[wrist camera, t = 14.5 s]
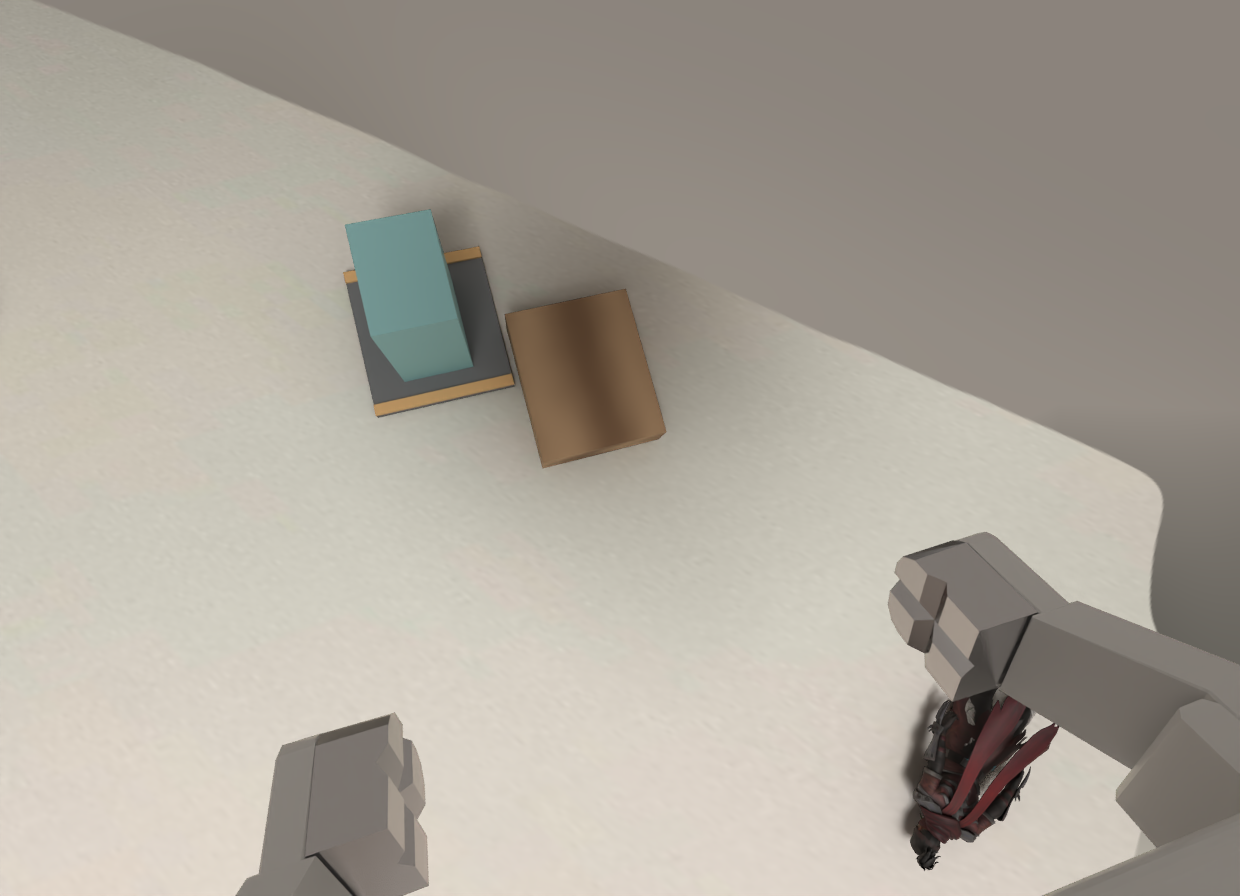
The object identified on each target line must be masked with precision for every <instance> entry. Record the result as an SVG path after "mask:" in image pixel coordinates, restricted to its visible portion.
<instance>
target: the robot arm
mask: <svg viewBox="0 0 1240 896" xmlns="http://www.w3.org/2000/svg"><path fill="white" fill-rule="evenodd" d="M894 573H895V574H896V575H897V576H898V578H899V579H900V580H899V581H898V582H897V583H896V585H895V586H894V587H893V588H892V589H891V590H890V594H889V600H888V608H889V612H890V616H891V620H892V622H893V624H894V626H895V628H896V630H897V632H898V633H899V634H900V636H901V637H902V638H903V640H904V641H905V642H906V644H907V645H909V646H911V647H913V648H915V649H917V650H919V651H921V652H923V653H924V655H925V668H926V669H927V671H928V672H929V673H930V674H931V676H932V677H933V678H934V680H935V681H936V682H937V683H938V685H939V686H940V687H941V688H942V690H943V691H944V692H945V694H946V695H947V696H948V697H949V699H950V700H951V701H952V702H954V701H957V700H960V699H963V698H966V697H969V696H973V695H976V694H979V693H982V692H985V691H988V690H991V689H995V688H998V687H1000V689H999V690H1000V691H1002V692H1003V693H1005V694H1007V695H1008V696H1010V697H1012V698H1013V699H1015V700H1017V701H1018V702H1020V703H1022V704H1023V705H1025V706H1027V707H1028V708H1030V709H1032V710H1033V711H1035V712H1037V713H1038V714H1040V715H1042V716H1043V717H1045V718H1047V719H1048V720H1050V721H1052V722H1053V723H1055V724H1057V725H1058V726H1060V727H1062V728H1063V729H1065V730H1067V731H1068V732H1070V733H1072V734H1073V735H1075V736H1077V737H1078V738H1080V739H1082V740H1083V741H1085V742H1087V743H1088V744H1090V745H1092V746H1093V747H1095V748H1097V749H1098V750H1100V751H1102V752H1103V753H1105V754H1107V755H1108V756H1110V757H1112V758H1113V759H1115V760H1117V761H1118V762H1120V763H1122V764H1123V765H1125V766H1127V767H1128V768H1130V769H1132V770H1131V771H1130V772H1129V774H1128V775H1127V776H1126V778H1125V779H1124V780H1123V782H1122V783H1121V784H1120V785H1119V787H1118V788H1117V789H1116V802H1117V803H1118V804H1119V805H1120V806H1121V807H1122V808H1123V810H1124V811H1125V812H1126V813H1127V814H1128V815H1129V816H1130V818H1131V819H1132V820H1133V821H1134V822H1135V823H1136V825H1137V826H1138V827H1139V828H1140V829H1141V830H1142V831H1143V833H1144V834H1145V835H1146V836H1147V837H1148V838H1149V839H1150V841H1151V842H1152V843H1153V844H1154V845H1155V846H1156V848H1155V849H1153V850H1150V851H1148V852H1146V853H1143V854H1141V855H1138V856H1136V857H1134V858H1131V859H1129V860H1126V861H1124V862H1122V863H1119V864H1117V865H1114V866H1112V867H1110V868H1107V869H1105V870H1103V871H1100V872H1098V873H1095V874H1093V875H1091V876H1088V877H1086V878H1083V879H1081V880H1079V881H1076V882H1074V883H1071V884H1069V885H1067V886H1064V887H1062V888H1059V889H1057V890H1055V891H1052V892H1050V893H1048V894H1045V895H1043V896H1240V665H1238V664H1236V663H1233V662H1231V661H1228V660H1226V659H1223V658H1221V657H1218V656H1216V655H1213V654H1211V653H1208V652H1205V651H1203V650H1200V649H1198V648H1195V647H1193V646H1190V645H1187V644H1185V643H1183V642H1180V641H1178V640H1175V639H1172V638H1170V637H1167V636H1165V635H1162V634H1160V633H1157V632H1155V631H1152V630H1150V629H1147V628H1145V627H1142V626H1140V625H1137V624H1134V623H1132V622H1129V621H1127V620H1124V619H1122V618H1119V617H1117V616H1114V615H1112V614H1109V613H1107V612H1104V611H1101V610H1099V609H1096V608H1094V607H1091V606H1089V605H1086V604H1084V603H1081V602H1079V601H1076V602H1072V603H1068V602H1067V601H1066V600H1065V599H1064V598H1063V597H1062V596H1061V595H1059V594H1058V593H1057V592H1056V591H1055V590H1054V589H1053V588H1052V587H1051V586H1050V585H1048V584H1047V583H1046V582H1045V581H1044V580H1043V579H1042V578H1041V577H1040V576H1039V575H1038V574H1036V573H1035V572H1034V571H1033V570H1032V569H1031V568H1030V567H1029V566H1028V565H1027V564H1025V563H1024V562H1023V561H1022V560H1021V559H1020V558H1019V557H1018V556H1017V555H1016V554H1014V553H1013V552H1012V551H1011V550H1010V549H1009V548H1008V547H1007V546H1006V545H1005V544H1003V543H1002V542H1001V541H1000V540H999V539H998V538H997V537H995V536H994V535H992V534H990V533H987V532H982V533H977V534H974V535H971V536H968V537H965V538H962V539H959V540H956V541H954V540H952V541H949V542H946V543H943V544H940V545H937V546H934V547H931V548H928V549H925V550H922V551H919V552H915V553H912V554H909V555H906V556H903V557H902V558H901V559H900V560H899V561H898V562H897V564H896V568H895V572H894ZM425 804H426V802H425V785H424V778H423V772H422V767H421V762H420V759H419V756H418V753H417V750H416V748H415V746H414V744H413V742H412V741H411V740H408V739H405V738H403V724H402V723H401V721H400V720H399V718H398V717H397V715H396V713H391V714H388V715H384V716H381V717H378V718H374V719H371V720H367V721H364V722H360V723H357V724H354V725H350V726H347V727H343V728H340V729H336V730H333V731H330V732H326V733H321V734H318V735H315V736H311V737H308V738H305V739H302V740H298V741H295V742H292V743H288V744H285V745H282V747H281V749H280V752H279V754H278V756H277V758H276V762H275V768H274V775H273V782H272V788H271V795H270V802H269V808H268V815H267V822H266V829H265V835H264V842H263V849H262V855H261V862H260V869H259V874H257V875H254V876H252V877H249V878H247V879H246V880H245V882H244V883H243V885H242V886H241V888H240V890H239V891H238V893H237V894H236V896H403V895H406V894H408V893H411V892H414V891H416V890H419V889H422V888H424V887H427V886H429V876H428V849H427V835H426V833H425V832H424V830H423V829H422V827H421V825H420V824H419V822H418V820H417V819H418V817H419V815H420V814H421V812H422V810H423V808H424V806H425Z"/></svg>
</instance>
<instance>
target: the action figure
mask: <svg viewBox="0 0 1240 896" xmlns="http://www.w3.org/2000/svg"><path fill="white" fill-rule="evenodd" d="M997 689H998V688H995V689H991V690H988V691H985V692H982V693H979V694H976V695H973V696H969V697H966V698H963V699H960V700H957V701H954V702H953V712H952V708H951V711H950V712H947V713H946V714H945V712H946V710H947V707H948V705H949V704H950V702H951V701H949V700H948V701H949V702H948V701H946V702H944V703H943V705H942V706H941V708H940V709H939V710H938V712H937V715H936V719H937V720H936V722H935V721H934V722H933V725H930V726H929V727H928V728H931V729H930V730H929V731H931V730H932V733H933V734H934V736H933V739H932V741H931V743H930V745H929V747H928V749H927V750H926V752H925V755H924V760H928V767H927V766H924V771H923V776H922V778H921V780H920V782H919V784H918V788H916V789H915V791H914V793H913V798H914V799H915V800H916V802H917V803H918V804H919V805H920V808H921V811H922V813H923V814H924V818H922V816H921V814H920V816H921V818H922V819H921V820H920V821H919V822H918V824H919V825H917V826H916V827H915V828H914V833H913V835H912V837H911V839H910V843H911V846H912V848H913V850H914V852H915V853H916V854H917V855H919V856H918V857H917V862H918V863H919V866H921V867H922V868H923V869H924V871H925V868H926V869H928V870H932V869H933V867H934V865H935V864H936V863H939V862H935V860H936V859H937V858H938V857H941V856H937V857H935V855H936V853H937V852H938V850H939V849H940V842H942V843H943V844H945V843H947V841H948V840H949V839H951V840H953V839H955V840H957V839H959V838H961V839H963V840H964V841H966V842H974V840H975V839H976V837H978V836H979V834H980V833H981V832H982V831H984V830H985V829H987V828H988V827H990V826H991V825H993V824H995V821H994V819H997V820H999V821H1004V819H1005V817H1006V815H1007V813H1008V810H1009V807H1010V805H1011V802H1012V801H1013V799H1014V798H1015V801H1016V798H1017V797H1018V799H1019V801H1020V796H1019V793H1020V789H1021V788H1023V787H1024V785H1025V784H1026V782H1027V779H1028V777H1029V774H1030V769H1031V766H1030V769H1029V772H1028V773H1027V775H1026V777H1025V779H1024V780H1023V782H1022V783H1021V785H1020V786H1019V784H1020V782H1021V780H1022V778H1023V775H1024V768H1025V767H1026V766H1027V765H1029V764H1030V763H1031V762H1032V761H1034V760H1035V759H1036V758H1037V757H1039V756H1040V755H1041V754H1043V753H1044V752H1045V751H1047V750H1048V749H1049V746H1050V744H1051V743H1050V742H1051V741H1052V739H1053V738H1054V736H1055V735H1056V733H1057V731H1058V728H1059V726H1057V727H1054V725H1055V723H1053V724H1052V725H1050V726H1048V727H1046V728H1044V729H1041V730H1040V731H1038V732H1037V733H1036V734H1034V735H1033V736H1032V737H1031V738H1030V739H1029V740H1028V741H1027V742H1025V743H1023V744H1021V742H1022V741H1024V740H1025V739H1026V738H1027V737H1024V736H1025V734H1026V729H1025V730H1024V728H1025V727H1026V726H1027V725H1028V724H1029V722H1030V721H1031V719H1032V718H1033V716H1034V715H1035V714H1036V713H1037V712H1035V711H1033V710H1032V709H1030V708H1028V707H1027V706H1025V705H1023V704H1022V703H1020V702H1018V701H1017V700H1015V699H1013V698H1012V697H1010V696H1007V698H1006V699H1005V701H1004V704H1003V706H1002V709H1001V707H1000V703H999V700H997V702H996V704H995V705H994V707H993V709H992V702H993V699H992V698H993V695H994V694H995V692H996V690H997ZM947 702H948V703H947ZM946 703H947V704H946ZM991 709H992V711H991ZM928 728H927V729H928ZM1023 730H1024V731H1023ZM1022 731H1023V733H1022ZM1023 737H1024V739H1023V740H1021V739H1022V738H1023ZM1020 740H1021V741H1020ZM1019 741H1020V742H1019ZM1018 742H1019V743H1018ZM1017 743H1018V744H1017ZM1016 744H1017V745H1016ZM1018 749H1019V750H1018ZM1017 750H1018V751H1017ZM1016 751H1017V752H1016ZM1015 752H1016V753H1015ZM1014 753H1015V755H1014V756H1013V757H1012V758H1011V759H1010V761H1009V762H1008V763H1007V764H1006V765H1005V767H1004V768H1003V769H1002V770H1001V771H1000V773H999V774H998V775H997V776H996V778H995V779H994V780H993V782H992V783H991V784H990V786H989V787H988V789H987V790H986V791H985V793H984V794H983V796H982V797H981V799H980V800H979V797H978V796H979V795H980V787H979V784H980V783H981V782H982V781H983V780H984V779H985V778H986V776H987V775H988V774H989V773H990V772H992V771H993V770H994V769H995V768H997V767H998V766H999V765H1000V764H1002V763H1003V762H1005V761H1006V760H1007V759H1009V758H1010V757H1011V756H1012V755H1013V754H1014ZM1005 785H1006V786H1005ZM1018 786H1019V787H1018ZM1004 787H1005V788H1004ZM1003 788H1004V789H1003ZM1017 788H1018V789H1017ZM1002 789H1003V790H1002ZM1001 790H1002V791H1001ZM1000 791H1001V792H1000ZM918 860H919V861H918ZM934 862H935V864H934ZM933 864H934V865H933ZM930 868H932V869H930Z"/></svg>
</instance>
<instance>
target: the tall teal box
mask: <svg viewBox="0 0 1240 896" xmlns="http://www.w3.org/2000/svg"><path fill="white" fill-rule="evenodd" d="M345 228H346V232H347V237H348V241H349V245H350V250H351V254H352V258H353V263H354V267H355V271H356V276H357V280H358V284H359V289H360V293H361V297H362V302H363V306H364V310H365V315H366V319H367V323H368V328H369V332H370V336H371V338H372V339H373V341H374V342H375V343H376V344H377V346H378V347H379V348H380V350H381V351H382V352H383V354H384V355H385V356H386V358H387V359H388V360H389V362H390V363H391V364H392V366H393V367H394V368H395V370H396V371H397V372H398V374H399V375H400V376H401V378H402V379H403V380H404V382H407V381H411V380H416V379H420V378H425V377H429V376H434V375H438V374H443V373H447V372H452V371H456V370H461V369H465V368H470V367H473V363H472V359H471V355H470V351H469V347H468V343H467V339H466V335H465V331H464V327H463V323H462V319H461V315H460V311H459V307H458V303H457V299H456V295H455V291H454V287H453V283H452V279H451V276H450V272H449V269H448V266H447V262H446V259H445V256H444V252H443V249H442V246H441V242H440V239H439V236H438V233H437V229H436V226H435V223H434V219H433V216H432V213H431V209H429V210H424V211H418V212H413V213H407V214H402V215H396V216H391V217H385V218H380V219H374V220H369V221H363V222H357V223H352V224H346V225H345Z"/></svg>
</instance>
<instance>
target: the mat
mask: <svg viewBox="0 0 1240 896" xmlns="http://www.w3.org/2000/svg"><path fill="white" fill-rule="evenodd" d="M444 256H445V259H446V262H447V266H448V269H449V272H450V276H451V279H452V283H453V287H454V291H455V295H456V299H457V303H458V307H459V311H460V315H461V319H462V323H463V327H464V331H465V335H466V339H467V343H468V347H469V351H470V355H471V359H472V363H473V367H470V368H465V369H461V370H456V371H452V372H447V373H443V374H438V375H434V376H429V377H425V378H420V379H416V380H411V381H407V382H404V380H403V379H402V378H401V376H400V375H399V374H398V372H397V371H396V370H395V368H394V367H393V366H392V364H391V363H390V362H389V360H388V359H387V358H386V356H385V355H384V354H383V352H382V351H381V350H380V348H379V347H378V346H377V344H376V343H375V342H374V341H373V339H372V338H371V336H370V332H369V328H368V323H367V319H366V315H365V310H364V306H363V302H362V297H361V293H360V289H359V284H358V280H357V276H356V271H355V270H353V271H348V272H343V274H344V278H345V282H346V285H347V289H348V293H349V298H350V302H351V307H352V311H353V315H354V320H355V324H356V328H357V333H358V337H359V342H360V346H361V350H362V355H363V359H364V364H365V368H366V372H367V377H368V381H369V385H370V390H371V394H372V399H373V403H374V410H375V414H376V416H377V417H378V418H379V417H383V416H387V415H392V414H396V413H400V412H405V411H409V410H414V409H418V408H422V407H427V406H431V405H435V404H440V403H444V402H448V401H453V400H457V399H461V398H466V397H470V396H475V395H479V394H483V393H488V392H492V391H496V390H501V389H505V388H509V387H514V381H513V377H512V374H511V370H510V366H509V362H508V358H507V354H506V350H505V346H504V342H503V339H502V335H501V331H500V327H499V323H498V319H497V315H496V311H495V307H494V303H493V300H492V296H491V292H490V288H489V284H488V280H487V276H486V272H485V268H484V265H483V261H482V256H481V252H480V249H479V247H473V248H468V249H463V250H458V251H453V252H447V253H444Z"/></svg>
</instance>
